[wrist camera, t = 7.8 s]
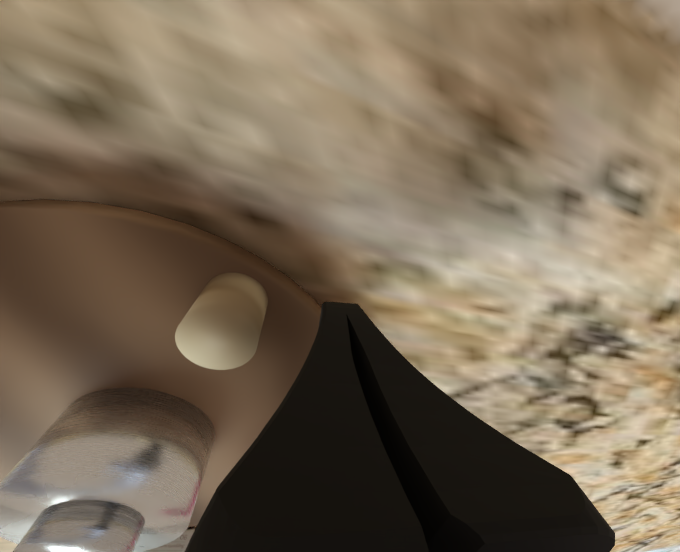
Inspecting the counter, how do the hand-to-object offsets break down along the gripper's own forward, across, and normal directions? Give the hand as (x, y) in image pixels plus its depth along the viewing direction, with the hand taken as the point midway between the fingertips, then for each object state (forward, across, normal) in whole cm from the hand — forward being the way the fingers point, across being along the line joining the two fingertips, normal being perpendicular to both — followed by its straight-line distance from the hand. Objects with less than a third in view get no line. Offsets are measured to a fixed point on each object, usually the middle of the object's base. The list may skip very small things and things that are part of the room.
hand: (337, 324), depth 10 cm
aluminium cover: (+1, +9, +9) cm, 12 cm away
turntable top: (+3, +9, +9) cm, 13 cm away
